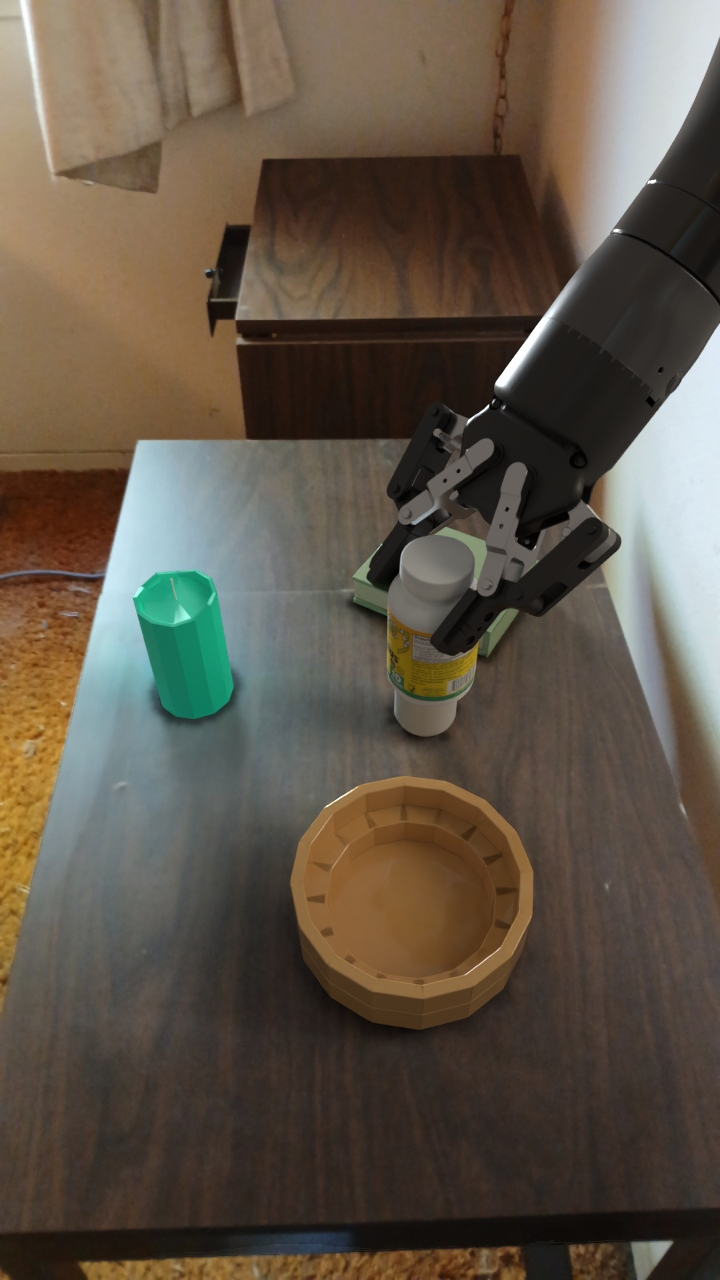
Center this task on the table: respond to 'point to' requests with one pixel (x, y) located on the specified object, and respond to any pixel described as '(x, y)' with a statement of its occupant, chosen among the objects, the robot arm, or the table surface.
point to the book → (378, 598)
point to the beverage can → (423, 717)
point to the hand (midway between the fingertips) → (409, 616)
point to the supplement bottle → (428, 621)
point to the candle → (185, 642)
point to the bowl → (411, 901)
